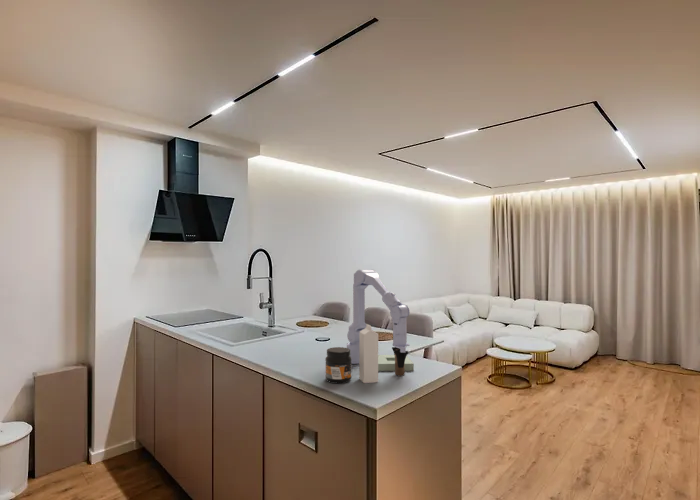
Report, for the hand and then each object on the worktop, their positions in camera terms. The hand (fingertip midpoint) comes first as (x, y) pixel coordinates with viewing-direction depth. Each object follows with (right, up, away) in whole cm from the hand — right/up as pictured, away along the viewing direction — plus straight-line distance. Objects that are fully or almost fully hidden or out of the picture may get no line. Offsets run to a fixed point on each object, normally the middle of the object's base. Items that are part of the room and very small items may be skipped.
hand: (399, 365), depth 156 cm
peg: (0, -3, 0) cm, 3 cm away
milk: (-14, -3, -9) cm, 17 cm away
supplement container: (-26, -3, -8) cm, 27 cm away
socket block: (-2, -4, +13) cm, 13 cm away
